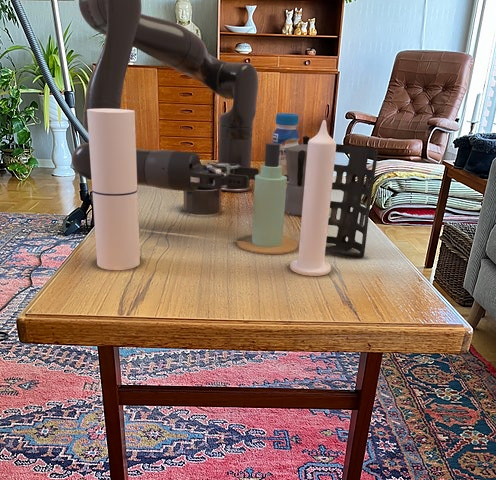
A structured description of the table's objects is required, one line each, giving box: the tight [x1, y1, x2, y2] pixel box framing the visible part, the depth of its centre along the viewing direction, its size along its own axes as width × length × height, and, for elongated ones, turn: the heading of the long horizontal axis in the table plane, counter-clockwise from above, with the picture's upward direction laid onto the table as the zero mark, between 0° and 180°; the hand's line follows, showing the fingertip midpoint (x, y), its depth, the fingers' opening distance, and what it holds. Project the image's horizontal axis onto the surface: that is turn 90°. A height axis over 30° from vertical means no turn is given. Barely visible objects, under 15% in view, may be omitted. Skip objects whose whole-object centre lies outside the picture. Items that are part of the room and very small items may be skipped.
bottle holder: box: [182, 187, 222, 216], centre depth 125 cm, size 9×9×6 cm
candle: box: [289, 119, 337, 277], centre depth 88 cm, size 7×7×25 cm
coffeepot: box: [284, 135, 311, 217], centre depth 126 cm, size 15×9×18 cm, turn 168°
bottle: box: [251, 142, 287, 247], centre depth 101 cm, size 6×6×19 cm
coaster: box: [236, 235, 299, 255], centre depth 105 cm, size 12×12×1 cm
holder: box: [325, 143, 379, 259], centre depth 100 cm, size 11×8×20 cm
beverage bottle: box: [271, 112, 300, 185], centre depth 162 cm, size 8×8×20 cm
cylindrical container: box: [87, 108, 141, 271], centre depth 87 cm, size 7×7×25 cm
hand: (253, 177), depth 101 cm, fingers open, 8 cm apart
